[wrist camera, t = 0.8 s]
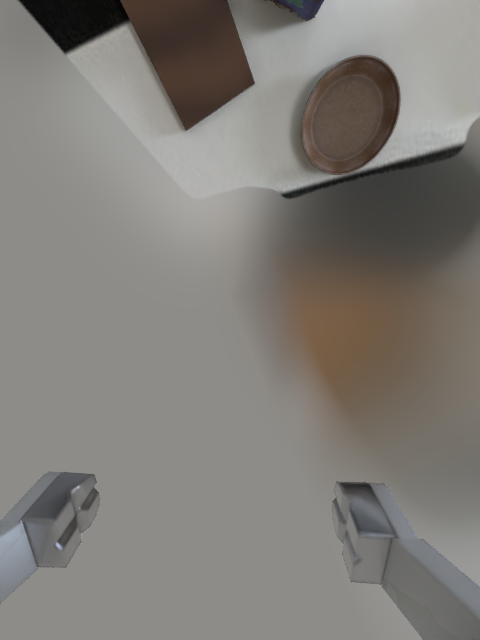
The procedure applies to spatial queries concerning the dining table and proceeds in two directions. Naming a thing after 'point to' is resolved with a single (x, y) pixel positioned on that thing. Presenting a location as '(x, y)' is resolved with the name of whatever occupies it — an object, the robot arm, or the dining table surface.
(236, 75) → the cutting board
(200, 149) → the dining table surface
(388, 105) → the saucer
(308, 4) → the flask
